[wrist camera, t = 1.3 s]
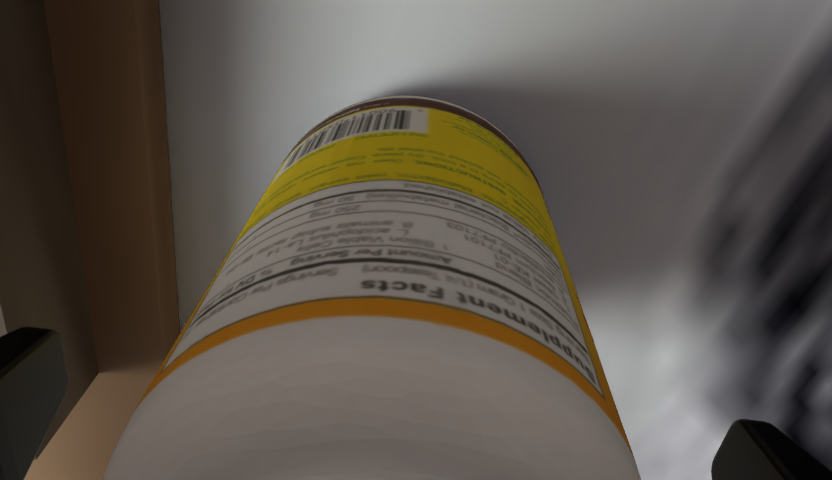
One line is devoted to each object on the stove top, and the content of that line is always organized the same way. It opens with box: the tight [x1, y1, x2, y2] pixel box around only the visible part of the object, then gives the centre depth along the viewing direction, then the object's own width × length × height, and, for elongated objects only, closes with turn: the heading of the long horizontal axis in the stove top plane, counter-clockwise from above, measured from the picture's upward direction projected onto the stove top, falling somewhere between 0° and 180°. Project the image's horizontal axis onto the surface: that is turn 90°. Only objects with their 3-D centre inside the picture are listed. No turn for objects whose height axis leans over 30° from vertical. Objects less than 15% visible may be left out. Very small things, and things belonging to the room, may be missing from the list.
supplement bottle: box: [103, 95, 641, 480], centre depth 9 cm, size 6×6×10 cm
